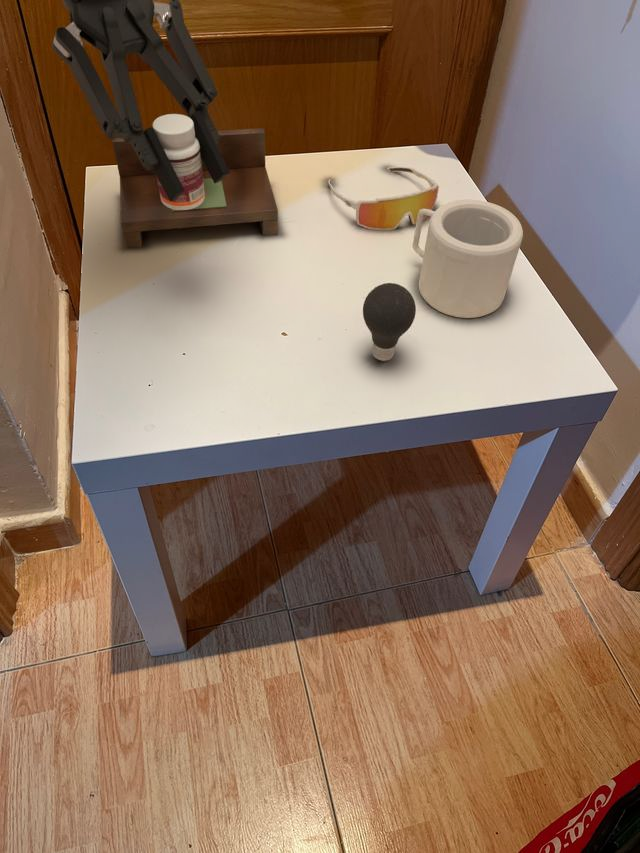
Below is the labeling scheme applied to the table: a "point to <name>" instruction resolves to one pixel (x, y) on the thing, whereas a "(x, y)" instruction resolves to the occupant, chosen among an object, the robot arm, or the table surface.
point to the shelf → (224, 201)
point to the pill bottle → (181, 159)
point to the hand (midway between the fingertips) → (199, 186)
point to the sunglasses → (393, 205)
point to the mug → (467, 256)
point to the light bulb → (388, 317)
